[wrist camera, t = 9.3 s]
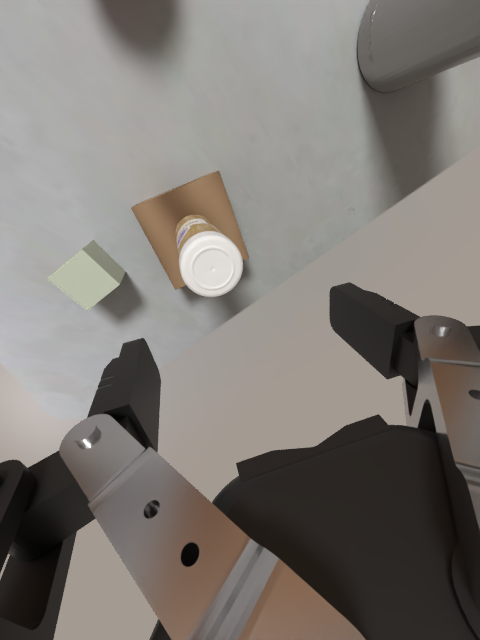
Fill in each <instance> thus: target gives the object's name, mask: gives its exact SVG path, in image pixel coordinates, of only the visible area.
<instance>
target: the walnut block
mask: <svg viewBox="0 0 480 640" xmlns="http://www.w3.org/2000/svg"><path fill="white" fill-rule="evenodd" d="M131 209H132V211H133V212H134V214H135V216H136V218H137V220H138V222H139V224H140V225H141V227H142V229H143V231H144V233H145V235H146V236H147V238H148V240H149V242H150V244H151V246H152V248H153V249H154V251H155V253H156V255H157V257H158V259H159V260H160V262H161V264H162V266H163V268H164V270H165V272H166V273H167V275H168V277H169V279H170V281H171V283H172V284H173V286H174V288H175V290H176V289H178V288H181V287H183V286H185V285H186V284H185V282H184V281H183V279H182V276H181V272H180V267H179V256H180V255H179V252H178V247H177V242H176V237H175V231H176V227H177V225H178V223H179V222H180V221H181V220H182V219H183V218H185V217H186V216H189V215H200V216H203V217H205V218H206V219H207V220H208V221H210V223H211V224H212V225H213V226H214V227H216V228H217V229H218V230H219V231H220V232H221V233H222V234H223V235H225V236H226V237H228V238H229V239H230V240H231V241H232V242H233V243H234V244H235V245H236V247H237V248H238V250H239V251H240V253H241V256H242V260H245V259H247V258H249V257H248V254H247V251H246V248H245V245H244V242H243V239H242V236H241V233H240V230H239V227H238V225H237V222H236V219H235V216H234V213H233V210H232V207H231V204H230V201H229V198H228V195H227V193H226V190H225V187H224V184H223V181H222V178H221V175H220V172H219V171H217V172H213V173H210V174H208V175H206V176H203V177H201V178H198V179H196V180H194V181H191V182H189V183H187V184H184V185H182V186H179V187H177V188H175V189H172V190H170V191H168V192H165V193H163V194H160V195H158V196H156V197H153V198H151V199H149V200H146V201H144V202H141V203H139V204H137V205H135V206H133V207H132V208H131Z"/></svg>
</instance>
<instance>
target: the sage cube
mask: <svg viewBox="0 0 480 640" xmlns="http://www.w3.org/2000/svg"><path fill="white" fill-rule="evenodd" d="M125 272H126V271H125V270H124V269H123V268H122V267H121V266H120V265H119V264H118V263H116V262H115V261H114V260H113V259H112V258H111V257H110V256H109V255H108V254H107V253H106V252H105V251H104V250H103V249H102V248H101V247H100V246H99V245H98V244H97V243H96V242H95V241H94V240H93V241H92V242H90V243H89V244H88V245H87V246H85V247H84V248H83V249H82V250H80V251H79V252H78V253H77V254H76V255H74V256H73V257H72V258H71V259H70V260H68V261H67V262H66V263H65V264H64V265H62V266H61V267H60V268H59V269H58V270H56V271H55V272H54V273H53V274H52V275H50V276H49V277H48V278H47V279H48V280H49V281H50V282H51V283H53V284H54V285H55V286H56V287H58V288H59V289H60V290H61V291H63V292H64V293H65V294H67V295H68V296H69V297H70V298H72V299H73V300H74V301H75V302H77V303H78V304H79V305H80V306H82V307H83V308H84V309H85V310H87V311H88V310H89V309H90V308H91V307H93V306H94V305H95V304H96V303H98V302H99V301H100V300H101V299H103V298H104V297H105V296H106V295H108V294H109V293H110V292H111V291H113V290H114V289H115V288H116V287H117V286H119V285H120V283H121V281H122V279H123V277H124V275H125Z"/></svg>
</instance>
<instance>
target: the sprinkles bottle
mask: <svg viewBox="0 0 480 640" xmlns="http://www.w3.org/2000/svg"><path fill="white" fill-rule="evenodd" d="M175 237H176V242H177V247H178V252H179V255H180V256H179V267H180V272H181V276H182V279H183V281H184V282H185V284H186V285H187V286H188V288H189V289H191V290H192V291H193V292H195V293H196V294H198V295H201V296H204V297H217V296H221V295H224V294H226V293H228V292H229V291H231V290H232V289H233V288H234V287H235V286H236V285H237V283H238V282H239V280H240V278H241V275H242V271H243V260H242V256H241V253H240V251H239V250H238V248H237V247H236V245H235V244H234V243H233V242H232V241H231V240H230V239H229V238H228V237H226V236H225V235H223V234H222V233H221V232H220V231H219V230H218V229H217V228H216V227H214V226H213V225H212V224H211V223H210V221H208V220H207V219H206V218H205V217H203V216H200V215H189V216H186V217H185V218H183V219H182V220H181V221H180V222H179V223H178V225H177V227H176V231H175Z"/></svg>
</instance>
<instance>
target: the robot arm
mask: <svg viewBox="0 0 480 640" xmlns="http://www.w3.org/2000/svg"><path fill="white" fill-rule="evenodd" d="M478 57H480V0H371V1H370V2H369V4H368V6H367V8H366V10H365V13H364V15H363V18H362V21H361V25H360V29H359V35H358V60H359V66H360V69H361V72H362V75H363V77H364V78H365V80H366V82H367V83H368V84H369V85H370V86H371V87H372V88H373V89H375V90H377V91H379V92H386V93H387V92H392V91H395V90H398V89H400V88H403V87H405V86H408V85H410V84H413V83H415V82H418V81H420V80H423V79H425V78H428V77H430V76H433V75H435V74H438V73H440V72H443V71H445V70H448V69H450V68H453V67H455V66H458V65H460V64H463V63H465V62H468V61H470V60H473V59H475V58H478ZM330 323H331V326H332V328H333V330H334V331H335V332H336V333H337V334H338V335H339V336H340V337H341V338H342V339H343V340H345V341H346V342H347V343H348V344H349V345H350V346H351V347H352V348H353V349H354V350H355V351H357V352H358V353H359V354H360V355H361V356H362V357H363V358H364V359H366V361H368V362H369V363H370V364H371V365H372V366H373V367H374V368H375V369H376V370H377V371H379V372H380V373H381V374H382V375H383V376H384V377H385V378H386V379H390V378H393V377H396V376H400V375H401V376H402V377H403V384H402V386H403V395H404V405H405V414H406V423H407V426H403V425H388V424H387V423H386V422H385V421H384V420H383V419H382V418H381V416H380V415H375V416H372V417H369V418H367V419H364V420H361V421H358V422H355V423H352V424H349V425H346V426H344V427H343V428H341V429H340V430H339V431H337V432H336V433H334V434H333V435H332V436H330V437H329V438H327V439H326V440H324V441H323V442H322V443H320V444H319V445H317V446H315V447H311V448H298V449H286V450H274V451H270V452H267V453H264V454H262V455H259V456H256V457H253V458H250V459H247V460H244V461H241V462H239V463H236V464H237V469H238V473H239V476H238V477H237V478H235V479H234V480H232V481H231V482H230V483H229V484H228V485H227V486H225V487H224V488H223V489H222V491H221V492H220V493H219V494H218V495H217V496H216V497H215V499H214V500H213V502H212V503H211V502H210V501H209V500H208V499H207V498H206V497H205V496H204V495H203V494H201V492H199V491H198V490H197V489H196V488H195V487H194V486H193V485H192V484H191V483H190V482H188V481H187V480H186V479H185V478H184V477H183V476H182V475H181V474H180V473H178V472H177V471H176V470H175V469H174V468H173V467H172V466H171V465H170V464H169V463H168V462H167V461H166V460H164V459H163V458H162V457H161V456H160V455H159V454H158V453H157V450H158V429H159V408H160V387H161V379H160V374H159V370H158V368H157V365H156V363H155V361H154V358H153V356H152V354H151V352H150V349H149V347H148V345H147V343H146V341H145V339H144V338H141V339H137V340H134V341H130V342H126V343H124V344H123V346H122V349H121V352H120V356H119V358H115V359H112V361H111V362H110V363H109V364H108V365H107V366H106V368H105V369H104V371H103V374H102V377H101V381H100V383H99V385H98V389H97V391H96V394H95V397H94V400H93V402H92V405H91V408H90V411H89V414H88V417H87V418H86V419H85V420H83V421H81V422H80V423H78V424H77V425H76V426H74V427H73V428H72V429H71V430H70V431H69V432H68V433H67V434H66V436H65V437H64V439H63V440H62V443H61V445H60V448H59V451H57V452H56V453H54V454H52V455H50V456H48V457H47V458H45V459H43V460H41V461H40V462H38V463H36V464H34V465H32V466H30V467H29V468H27V467H26V466H25V465H23V464H22V463H21V462H20V461H18V460H8V461H5V462H2V463H0V572H1V570H2V567H3V565H4V562H5V560H6V557H7V555H8V554H10V557H9V559H8V562H7V564H6V567H5V570H4V572H3V575H2V577H1V580H0V640H53V638H54V633H55V628H56V624H57V620H58V615H59V610H60V605H61V601H62V597H63V592H64V587H65V583H66V578H67V573H68V569H69V565H70V560H71V555H72V551H73V546H74V542H75V537H76V532H77V531H78V530H79V529H81V528H82V527H84V526H85V525H87V524H88V523H89V522H91V521H92V520H94V519H95V518H96V519H97V521H98V523H99V524H100V526H101V527H102V529H103V531H104V532H105V534H106V535H107V537H108V538H109V540H110V542H111V543H112V545H113V546H114V548H115V550H116V551H117V553H118V555H119V556H120V558H121V559H122V561H123V563H124V564H125V566H126V567H127V569H128V571H129V572H130V574H131V575H132V577H133V579H134V580H135V582H136V583H137V585H138V587H139V588H140V590H141V591H142V593H143V595H144V596H145V598H146V599H147V601H148V603H149V604H150V606H151V607H152V609H153V611H154V612H155V614H156V615H157V617H158V621H157V624H156V626H155V628H154V630H153V633H152V635H151V637H150V640H480V326H470V327H469V326H468V327H467V326H466V325H465V324H463V323H462V322H460V321H458V320H456V319H453V318H449V317H445V316H436V315H435V316H432V315H431V316H424V317H419V316H417V315H416V314H414V313H412V312H410V311H408V310H406V309H404V308H403V307H401V306H399V305H397V304H394V303H393V302H392V301H390V300H388V299H387V300H386V298H384V297H382V296H380V295H378V294H377V293H374V292H370V291H365V290H363V289H361V288H359V287H357V286H356V285H354V284H352V283H345V284H341V285H338V286H334V287H332V288H331V290H330Z"/></svg>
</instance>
